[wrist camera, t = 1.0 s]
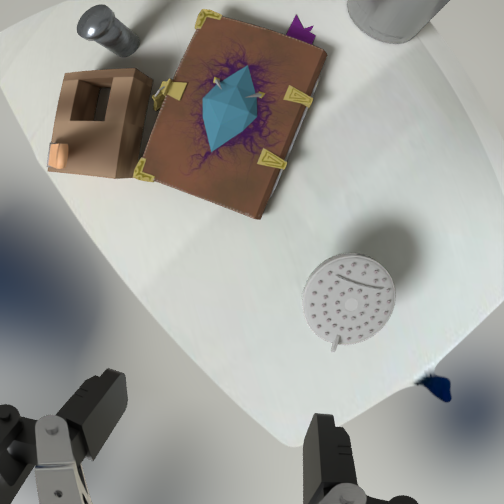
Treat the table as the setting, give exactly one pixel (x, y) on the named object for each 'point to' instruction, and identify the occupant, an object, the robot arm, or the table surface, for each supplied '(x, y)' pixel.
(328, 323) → the showerhead
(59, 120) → the block
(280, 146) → the book
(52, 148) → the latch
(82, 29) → the pin
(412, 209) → the table surface
